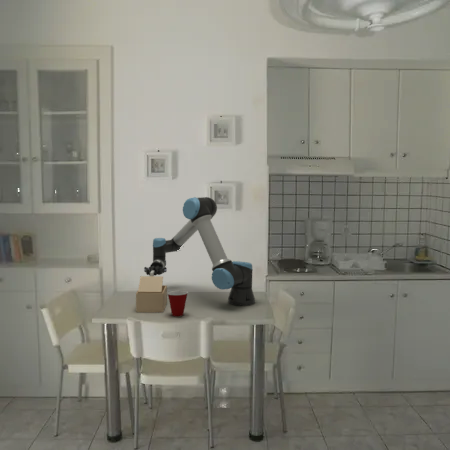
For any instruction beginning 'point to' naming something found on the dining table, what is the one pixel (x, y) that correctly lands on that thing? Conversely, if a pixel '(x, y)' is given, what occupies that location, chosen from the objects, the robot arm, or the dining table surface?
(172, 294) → the plastic cup
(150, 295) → the carton
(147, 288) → the flap
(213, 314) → the dining table surface
